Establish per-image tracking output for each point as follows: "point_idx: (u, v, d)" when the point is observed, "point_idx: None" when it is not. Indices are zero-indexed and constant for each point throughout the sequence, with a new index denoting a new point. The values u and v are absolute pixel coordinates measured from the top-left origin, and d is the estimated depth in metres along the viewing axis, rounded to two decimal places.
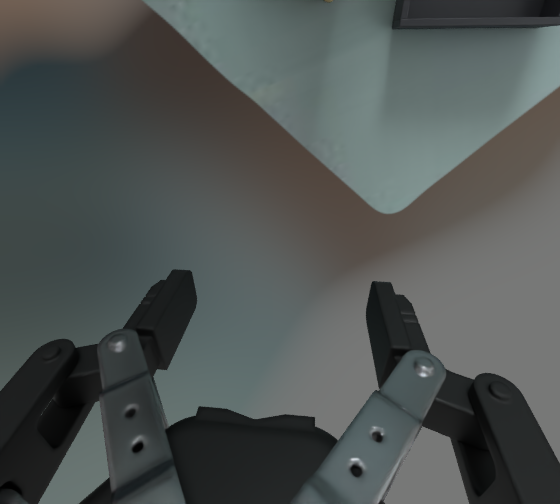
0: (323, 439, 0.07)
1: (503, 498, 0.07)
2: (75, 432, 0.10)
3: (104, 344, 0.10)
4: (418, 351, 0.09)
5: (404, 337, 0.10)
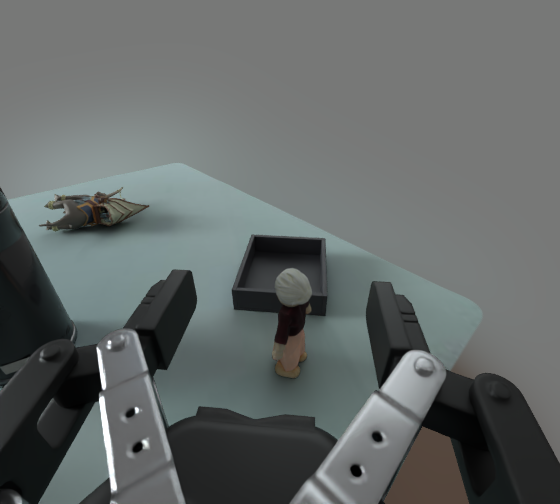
0: (323, 439, 0.07)
1: (503, 498, 0.07)
2: (75, 432, 0.10)
3: (104, 344, 0.10)
4: (418, 351, 0.09)
5: (404, 337, 0.10)
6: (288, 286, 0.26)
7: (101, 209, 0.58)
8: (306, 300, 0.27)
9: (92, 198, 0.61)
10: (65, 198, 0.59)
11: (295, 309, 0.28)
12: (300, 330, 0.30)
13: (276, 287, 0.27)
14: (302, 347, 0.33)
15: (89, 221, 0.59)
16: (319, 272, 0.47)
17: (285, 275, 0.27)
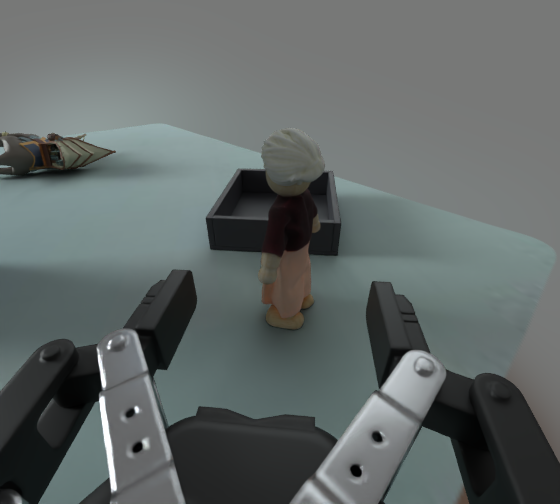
0: (323, 439, 0.07)
1: (503, 498, 0.07)
2: (75, 432, 0.10)
3: (104, 344, 0.10)
4: (418, 351, 0.09)
5: (404, 337, 0.10)
6: (284, 147, 0.15)
7: (51, 148, 0.46)
8: (316, 174, 0.15)
9: (43, 138, 0.49)
10: (7, 136, 0.47)
11: (297, 201, 0.17)
12: (305, 243, 0.18)
13: (263, 154, 0.16)
14: (307, 284, 0.22)
15: (37, 164, 0.47)
16: (326, 210, 0.36)
17: (279, 133, 0.16)
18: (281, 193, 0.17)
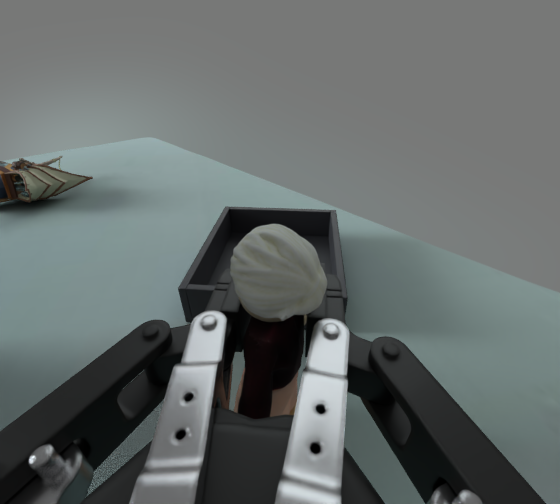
0: None
1: (422, 442, 0.08)
2: (150, 410, 0.10)
3: (198, 320, 0.11)
4: (330, 319, 0.11)
5: (322, 308, 0.11)
6: (268, 269, 0.09)
7: (16, 178, 0.41)
8: (318, 303, 0.10)
9: (9, 165, 0.44)
10: None
11: (285, 327, 0.11)
12: (296, 372, 0.13)
13: (235, 274, 0.10)
14: (293, 396, 0.16)
15: (1, 196, 0.42)
16: (328, 260, 0.30)
17: (257, 240, 0.10)
18: (262, 320, 0.11)
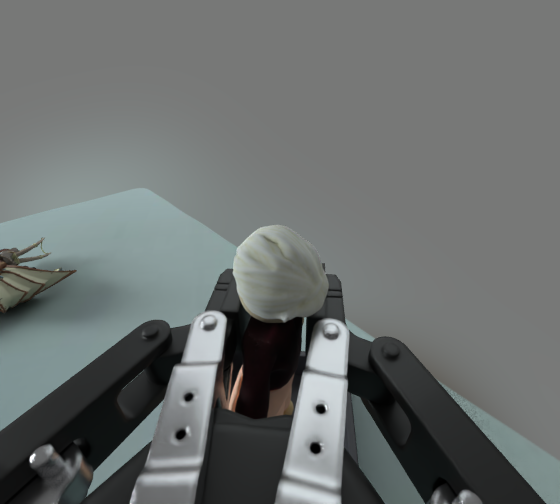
0: None
1: (422, 442, 0.08)
2: (150, 410, 0.10)
3: (198, 320, 0.11)
4: (330, 319, 0.11)
5: (322, 308, 0.11)
6: (271, 271, 0.09)
7: None
8: (319, 305, 0.10)
9: None
10: None
11: (285, 328, 0.11)
12: (293, 373, 0.13)
13: (238, 274, 0.10)
14: (288, 397, 0.17)
15: None
16: None
17: (261, 241, 0.10)
18: (263, 321, 0.11)
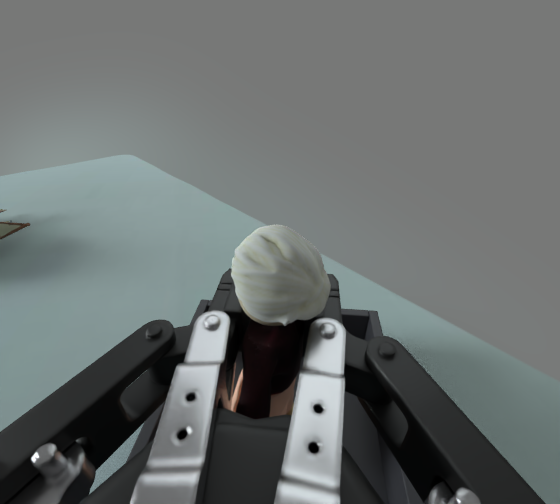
0: None
1: (418, 441, 0.08)
2: (153, 409, 0.10)
3: (202, 319, 0.11)
4: (326, 318, 0.11)
5: None
6: (271, 272, 0.09)
7: None
8: (321, 308, 0.10)
9: None
10: None
11: (286, 331, 0.11)
12: (294, 376, 0.13)
13: (236, 276, 0.10)
14: (290, 399, 0.16)
15: None
16: None
17: (260, 241, 0.10)
18: (263, 324, 0.11)
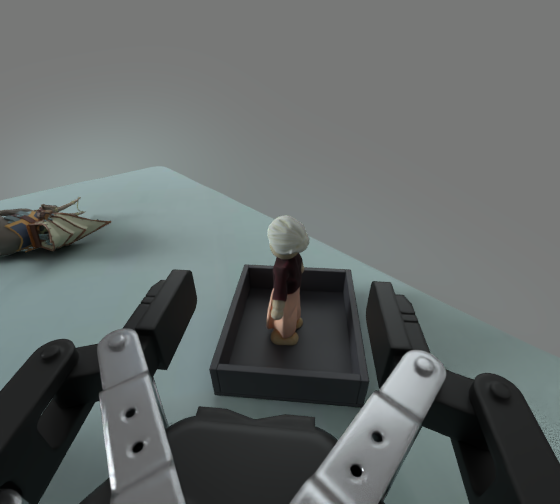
0: (323, 439, 0.07)
1: (503, 498, 0.07)
2: (75, 432, 0.10)
3: (104, 344, 0.10)
4: (418, 351, 0.09)
5: (404, 337, 0.10)
6: (283, 233, 0.23)
7: (40, 228, 0.43)
8: (305, 247, 0.24)
9: (32, 213, 0.45)
10: None
11: (292, 262, 0.25)
12: (298, 287, 0.27)
13: (270, 236, 0.24)
14: (298, 311, 0.30)
15: (26, 244, 0.44)
16: (345, 322, 0.32)
17: (278, 221, 0.24)
18: (281, 258, 0.25)
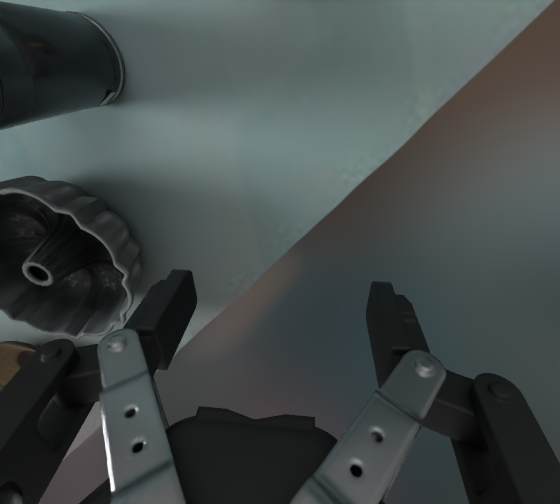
0: (323, 439, 0.07)
1: (503, 498, 0.07)
2: (75, 432, 0.10)
3: (104, 344, 0.10)
4: (418, 351, 0.09)
5: (404, 337, 0.10)
6: None
7: None
8: None
9: None
10: None
11: None
12: None
13: None
14: None
15: None
16: None
17: None
18: None
